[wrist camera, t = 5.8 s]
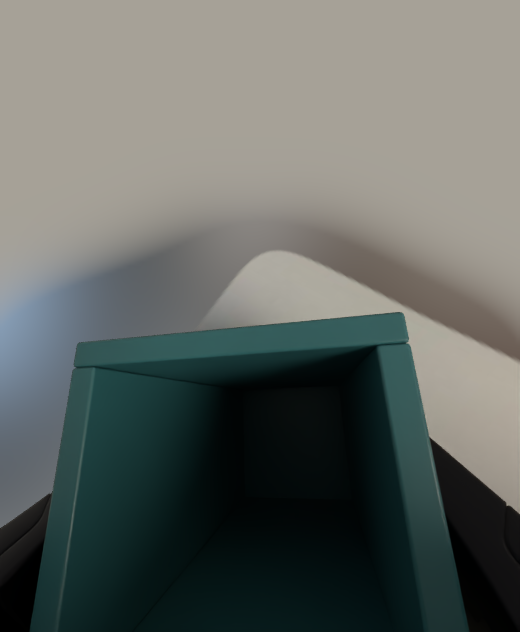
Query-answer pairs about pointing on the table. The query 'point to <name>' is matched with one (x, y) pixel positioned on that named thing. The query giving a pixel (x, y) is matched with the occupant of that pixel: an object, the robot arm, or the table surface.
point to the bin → (248, 487)
